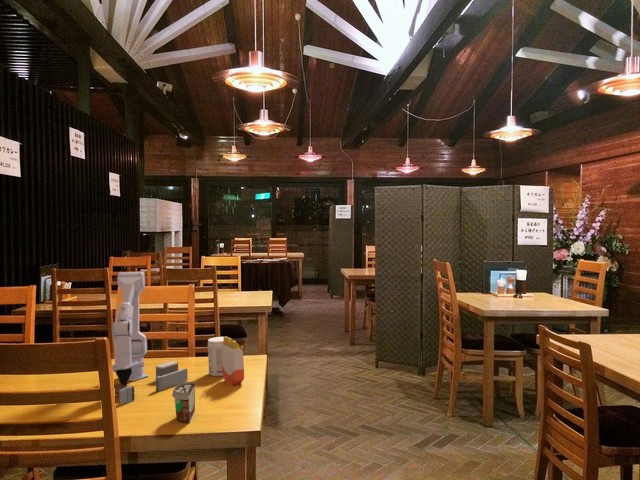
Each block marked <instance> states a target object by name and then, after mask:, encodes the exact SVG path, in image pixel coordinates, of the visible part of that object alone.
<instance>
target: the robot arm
mask: <svg viewBox="0 0 640 480" xmlns="http://www.w3.org/2000/svg"><path fill="white" fill-rule="evenodd" d="M145 275H146V274H145V272H144V271H143V270H142V271H130V272H129V271H126V272H125V271H123V272H122V271H119V273H118V274H117V278H116V280H117V282H116V283H117V286H118V288H119V290H120V291H121V303H120V304H119V305H118V306H117V309H116V314H115V319H114V322H113V323H112V325H111V334H112V341H113V343H114V344H113V345H114V350H113V351H114V364H112V365H111V366H112V370H113V372H112V373H115V374H116V376H117V378H118V380H119V383H120V384H121V385H125V386H128V382H134V381H137V380H141V379H144V378H146V377H149V374H146V373H145V370H144V369H145V362H144V355H146V354H147V352H148V341H147V336H146V334H144V333H143V332H141V331H140V295H141V293H142V292H144V291H145V288H146V276H145Z"/></svg>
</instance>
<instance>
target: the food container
mask: <svg viewBox="0 0 640 480" xmlns="http://www.w3.org/2000/svg"><path fill="white" fill-rule="evenodd" d="M171 397H172V398H174V405H175V406H174V407H175V418H176V421H177V422H178V423H183V424H190V423H191V421H192V419H193V417H194V415H195V412H196V381H193V380H192V381H186V382H183V383H181V384H178V385H175V386H173V390H172V394H171Z"/></svg>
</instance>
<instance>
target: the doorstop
mask: <svg viewBox="0 0 640 480" xmlns="http://www.w3.org/2000/svg"><path fill="white" fill-rule="evenodd" d="M178 370H179V362H177V361H172V360H171V361H168V362H163V363H161V364H158V365H155V378H156V377H158V376H163V375H166V374H169V373H172V372H175V371H178Z"/></svg>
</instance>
